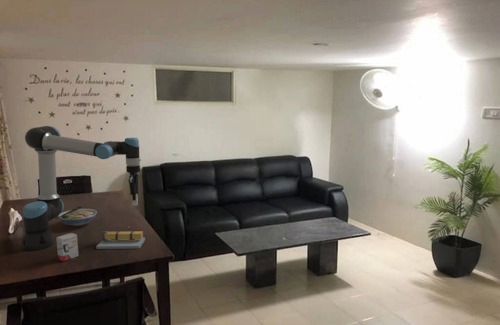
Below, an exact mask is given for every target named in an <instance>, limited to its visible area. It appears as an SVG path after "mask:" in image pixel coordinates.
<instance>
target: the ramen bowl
mask: <svg viewBox="0 0 500 325" xmlns="http://www.w3.org/2000/svg"><path fill="white" fill-rule="evenodd" d="M97 213H98V212H97V209H93V208H83V206H76V207H75V208H73V209H71V210H66V211H62V213H61V214H60V215H59V216H58V217H56V218H54V219H55V220H57V219H59V220H60V221H61V222H62V223H64V224H65V225H67V226H72V227H82V226H84V225H87V224H88V223H89V224H90V222H92V221H93V220H94V219H95V218H96V216H97Z"/></svg>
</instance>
